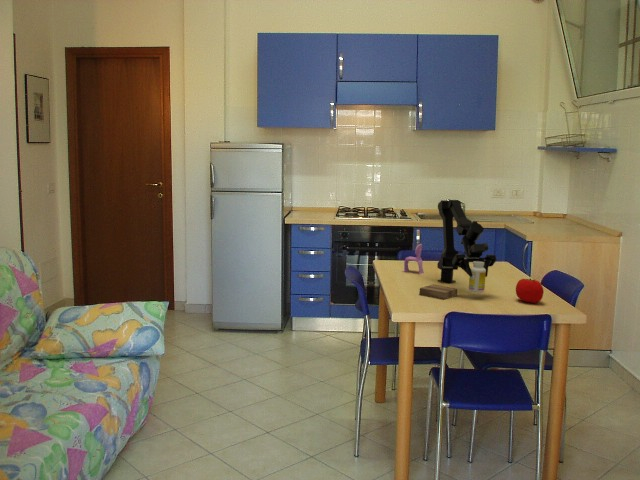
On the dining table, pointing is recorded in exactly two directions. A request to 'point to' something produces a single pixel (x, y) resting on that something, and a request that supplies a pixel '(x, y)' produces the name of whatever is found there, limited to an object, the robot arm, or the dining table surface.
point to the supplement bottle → (477, 277)
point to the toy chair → (417, 259)
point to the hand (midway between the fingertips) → (478, 276)
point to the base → (438, 291)
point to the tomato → (529, 290)
